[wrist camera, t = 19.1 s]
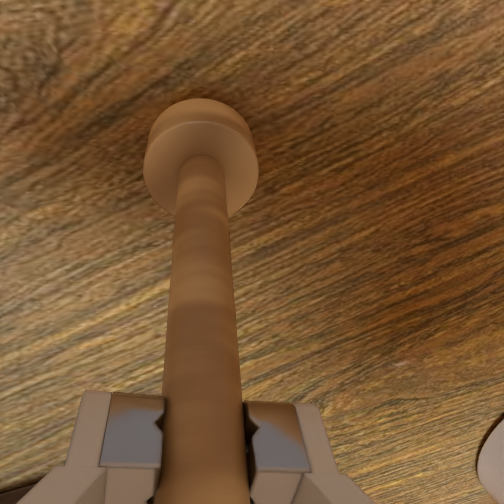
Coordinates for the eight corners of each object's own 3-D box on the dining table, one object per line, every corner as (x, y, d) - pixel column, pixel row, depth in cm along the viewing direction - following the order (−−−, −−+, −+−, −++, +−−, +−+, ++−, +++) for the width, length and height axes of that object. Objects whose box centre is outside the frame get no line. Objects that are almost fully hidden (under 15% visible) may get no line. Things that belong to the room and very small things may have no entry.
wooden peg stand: (275, 141, 18) (478, 875, 5) (211, 211, 20) (231, 892, 7) (189, 74, 16) (140, 959, 3) (127, 157, 18) (-77, 951, 5)
